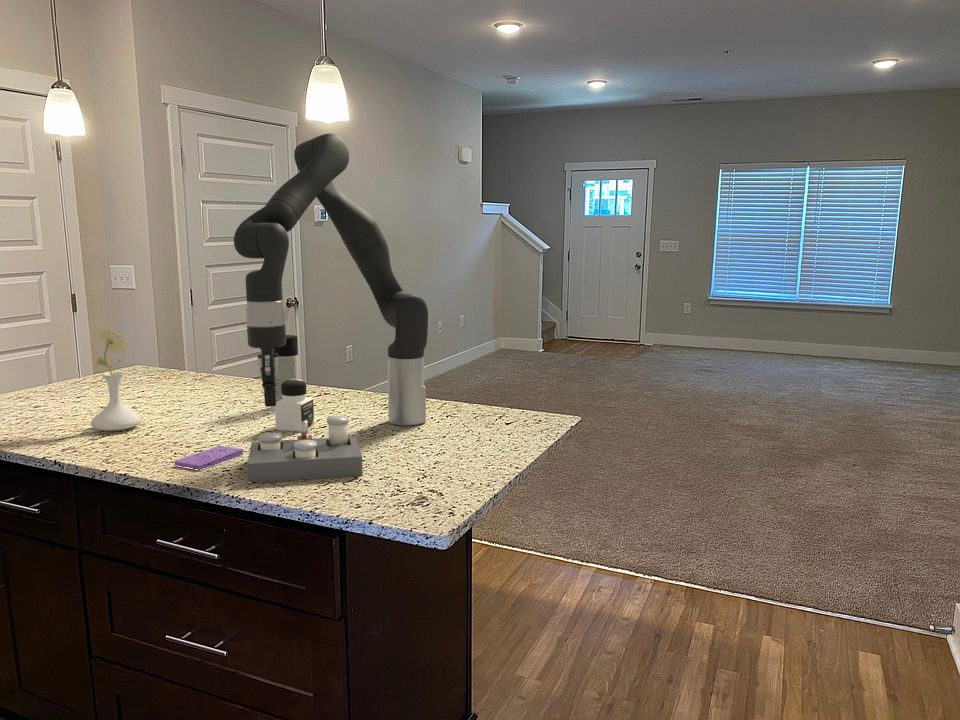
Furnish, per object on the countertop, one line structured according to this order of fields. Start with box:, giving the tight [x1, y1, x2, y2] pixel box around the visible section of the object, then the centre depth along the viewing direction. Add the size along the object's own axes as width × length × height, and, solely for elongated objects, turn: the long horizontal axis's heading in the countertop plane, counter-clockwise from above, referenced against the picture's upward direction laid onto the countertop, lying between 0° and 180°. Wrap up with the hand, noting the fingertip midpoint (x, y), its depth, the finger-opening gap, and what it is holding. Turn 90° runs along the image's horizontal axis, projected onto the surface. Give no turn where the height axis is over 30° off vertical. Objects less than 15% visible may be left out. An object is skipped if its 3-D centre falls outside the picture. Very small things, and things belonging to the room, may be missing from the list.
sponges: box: [174, 445, 244, 470], centre depth 155 cm, size 7×13×2 cm, turn 155°
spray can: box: [274, 334, 300, 402], centre depth 200 cm, size 7×7×20 cm
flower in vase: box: [90, 326, 143, 432], centre depth 177 cm, size 13×11×25 cm
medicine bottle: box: [274, 379, 315, 433], centre depth 180 cm, size 7×7×12 cm
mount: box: [246, 435, 363, 483], centre depth 150 cm, size 22×15×4 cm
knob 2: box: [326, 415, 350, 446], centre depth 155 cm, size 5×5×6 cm
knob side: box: [293, 440, 317, 458], centre depth 147 cm, size 5×5×6 cm
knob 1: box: [258, 432, 283, 450], centre depth 152 cm, size 5×5×6 cm
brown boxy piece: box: [296, 421, 313, 441], centre depth 153 cm, size 3×3×5 cm
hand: (270, 405), depth 150 cm, fingers closed
